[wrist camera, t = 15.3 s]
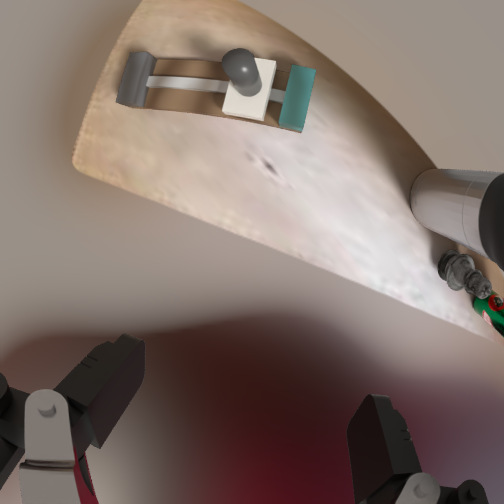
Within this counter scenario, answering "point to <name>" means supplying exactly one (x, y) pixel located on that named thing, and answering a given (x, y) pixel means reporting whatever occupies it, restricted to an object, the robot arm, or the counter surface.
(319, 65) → the counter surface
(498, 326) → the soda can
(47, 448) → the robot arm
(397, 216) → the counter surface
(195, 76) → the rail
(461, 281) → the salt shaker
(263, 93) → the carriage
